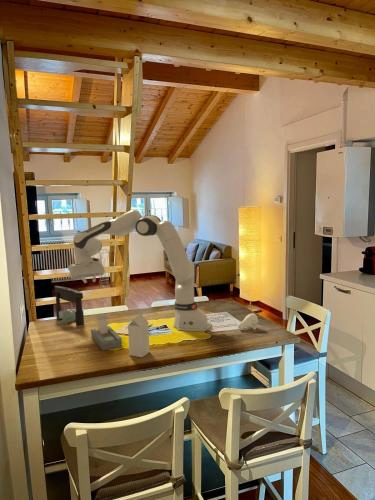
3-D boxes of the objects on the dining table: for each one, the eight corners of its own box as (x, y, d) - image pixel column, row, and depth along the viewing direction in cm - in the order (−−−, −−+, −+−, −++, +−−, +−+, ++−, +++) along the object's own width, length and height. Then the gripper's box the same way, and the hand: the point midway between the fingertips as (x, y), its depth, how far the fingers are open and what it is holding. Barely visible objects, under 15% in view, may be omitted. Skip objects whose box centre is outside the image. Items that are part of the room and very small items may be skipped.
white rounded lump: (258, 314, 200) (240, 319, 196) (260, 328, 201) (241, 334, 197) (252, 311, 206) (234, 316, 202) (254, 325, 207) (236, 330, 203)
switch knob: (97, 332, 194) (96, 315, 193) (106, 330, 196) (105, 314, 195) (100, 334, 190) (99, 317, 189) (108, 332, 192) (107, 316, 191)
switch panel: (91, 336, 196) (90, 329, 196) (109, 333, 201) (108, 325, 200) (102, 350, 177) (102, 341, 177) (122, 346, 182) (121, 337, 181)
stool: (65, 282, 240) (93, 289, 218) (67, 313, 242) (95, 322, 221) (43, 287, 228) (70, 294, 206) (45, 318, 231) (72, 329, 209)
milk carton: (149, 352, 174) (148, 314, 171) (141, 357, 167) (140, 318, 165) (137, 349, 177) (135, 312, 174) (129, 355, 170) (127, 317, 168)
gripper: (67, 261, 209) (72, 281, 202) (102, 258, 219) (107, 276, 212) (66, 268, 214) (71, 287, 207) (100, 264, 224) (105, 282, 216)
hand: (89, 281), depth 209 cm, fingers open, 4 cm apart
